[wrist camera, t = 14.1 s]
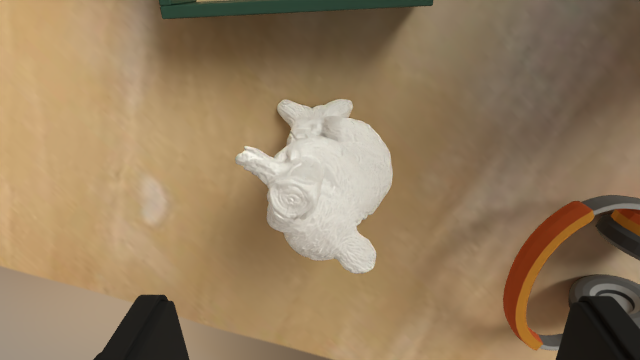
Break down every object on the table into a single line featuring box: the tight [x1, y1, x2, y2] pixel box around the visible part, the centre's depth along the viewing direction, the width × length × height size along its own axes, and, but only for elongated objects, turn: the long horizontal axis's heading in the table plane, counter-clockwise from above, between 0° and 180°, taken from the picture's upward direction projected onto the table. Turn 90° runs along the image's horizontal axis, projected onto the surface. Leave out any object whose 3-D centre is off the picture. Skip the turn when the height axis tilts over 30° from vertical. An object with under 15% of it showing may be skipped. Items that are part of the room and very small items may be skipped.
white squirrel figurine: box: [235, 99, 393, 273], centre depth 21 cm, size 8×7×12 cm
